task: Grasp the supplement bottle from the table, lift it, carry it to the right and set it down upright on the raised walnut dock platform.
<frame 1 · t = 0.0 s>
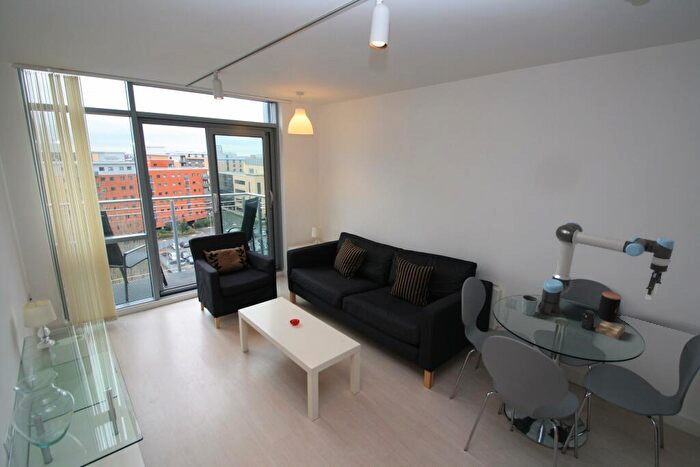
hand: (650, 295, 199), 28 cm above the table, fingers open, 13 cm apart
coffee jar: (606, 318, 227), on the table
supplement bottle: (586, 327, 216), on the table
grey green cup: (527, 313, 235), on the table
dock: (609, 331, 211), on the table
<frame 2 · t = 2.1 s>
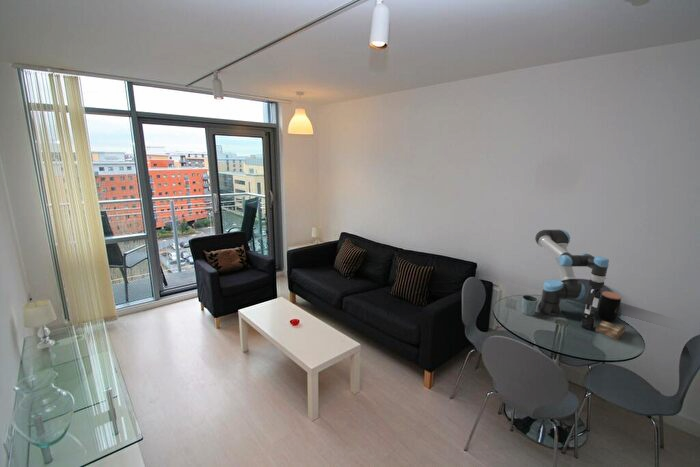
hand: (590, 310, 212), 13 cm above the table, fingers open, 13 cm apart
nothing on the table moved.
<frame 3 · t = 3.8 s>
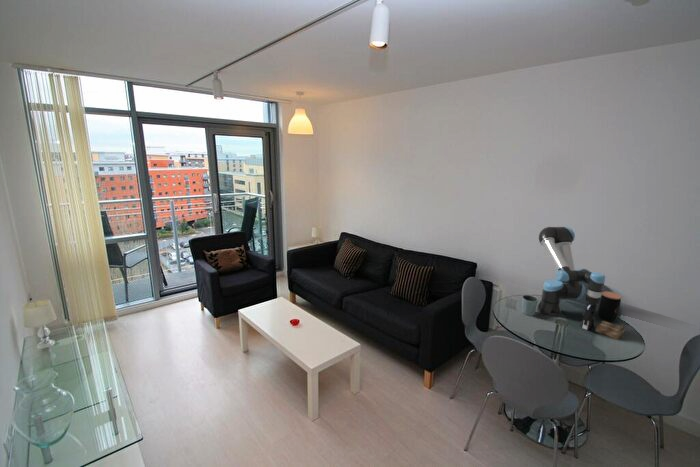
hand: (586, 326, 216), 1 cm above the table, fingers closed on supplement bottle, 7 cm apart
supplement bottle: (586, 327, 216), on the table, touching gripper
everything else where it was.
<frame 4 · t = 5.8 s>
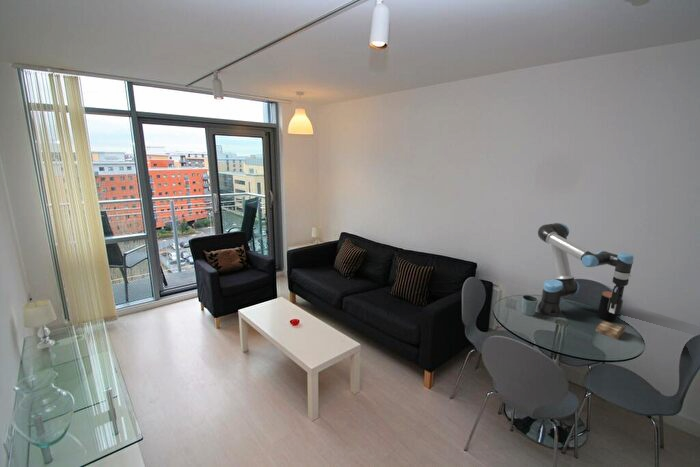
hand: (613, 310, 206), 16 cm above the table, fingers closed on supplement bottle, 7 cm apart
supplement bottle: (613, 311, 206), point 15 cm above the table, touching gripper
everything else where it was.
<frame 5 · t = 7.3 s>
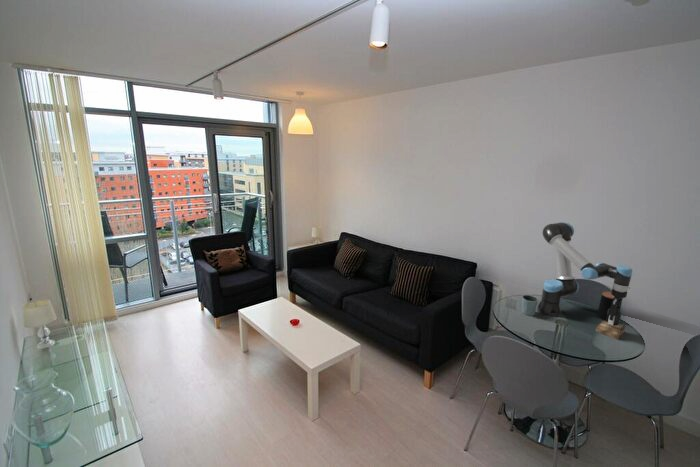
hand: (612, 322, 209), 7 cm above the table, fingers closed on supplement bottle, 7 cm apart
supplement bottle: (612, 323, 209), point 6 cm above the table, touching gripper
everything else where it was.
when the fingers open (5 cm above the table, at t = 8.1 s): supplement bottle drops 1 cm, resting on dock.
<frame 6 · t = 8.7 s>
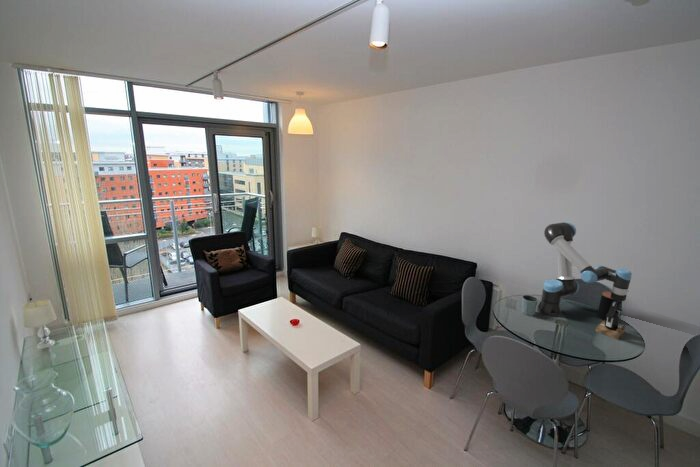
hand: (611, 322, 209), 7 cm above the table, fingers open, 13 cm apart
supplement bottle: (610, 327, 210), point 3 cm above the table, touching dock
everything else where it was.
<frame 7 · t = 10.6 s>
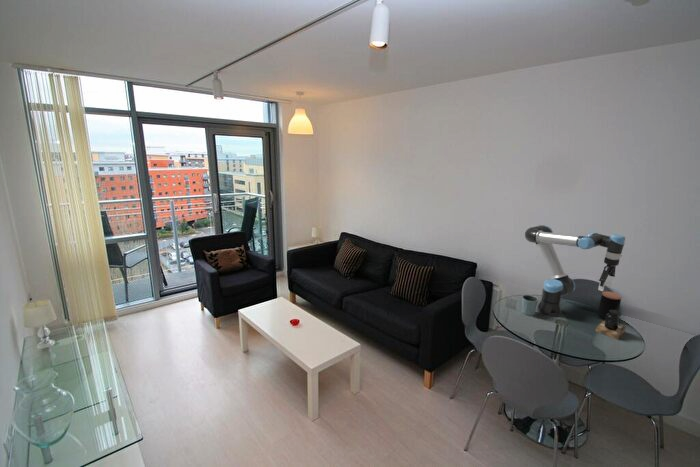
hand: (604, 287, 214), 26 cm above the table, fingers open, 13 cm apart
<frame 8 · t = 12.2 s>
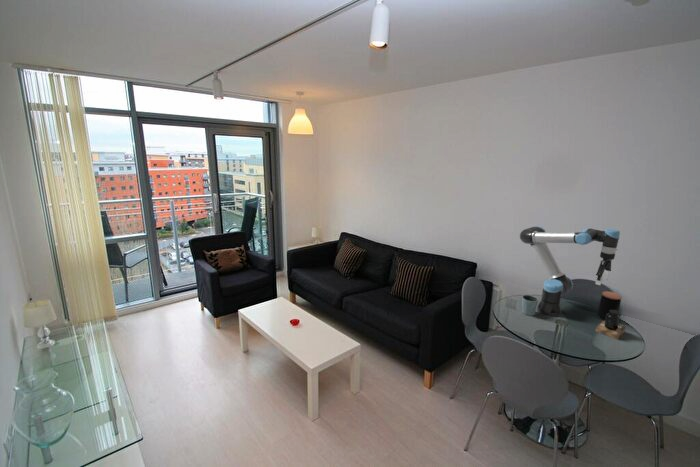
hand: (601, 282, 217), 29 cm above the table, fingers open, 13 cm apart
nothing on the table moved.
at the end: supplement bottle inside the target area on the dock (0.1 cm from its centre), point 3.0 cm above the dock's base; supplement bottle tilted 4°; the gripper is holding nothing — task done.
